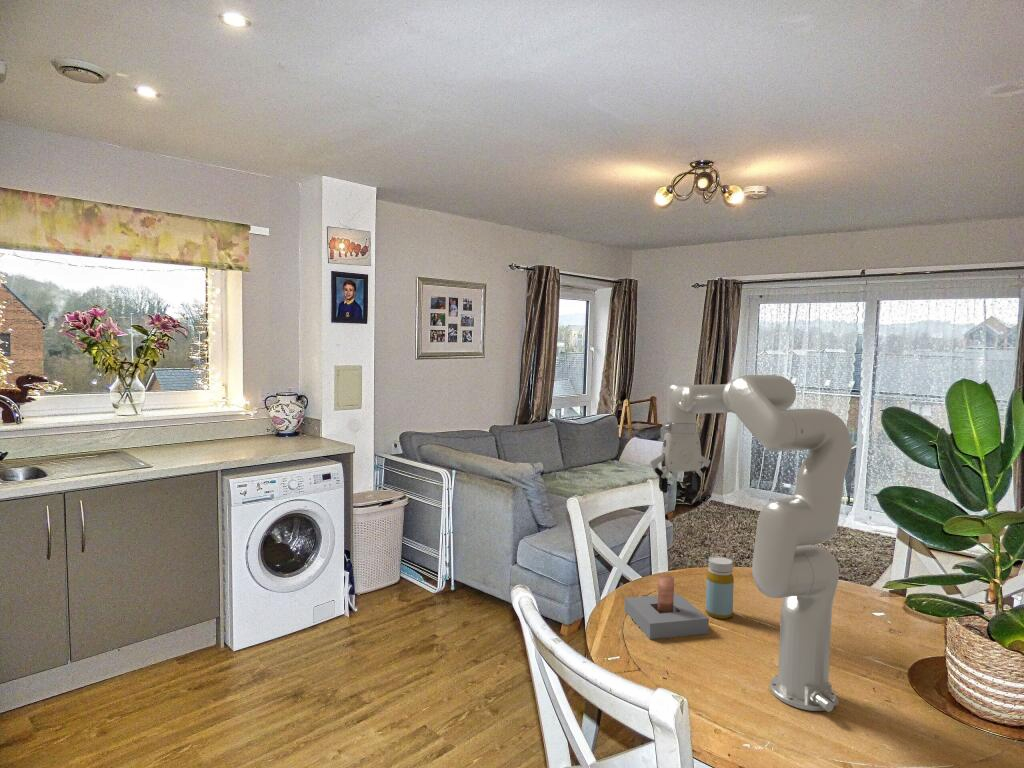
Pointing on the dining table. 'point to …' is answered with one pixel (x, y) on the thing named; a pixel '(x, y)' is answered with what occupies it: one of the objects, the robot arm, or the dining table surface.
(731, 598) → the bottle
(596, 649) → the dining table surface
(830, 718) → the dining table surface
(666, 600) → the peg
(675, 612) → the socket block
